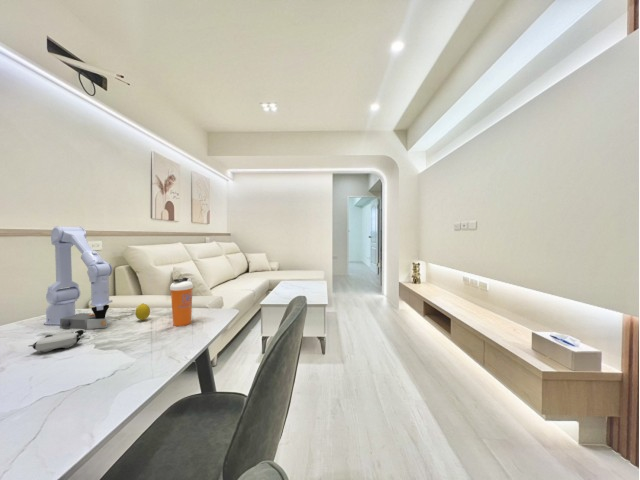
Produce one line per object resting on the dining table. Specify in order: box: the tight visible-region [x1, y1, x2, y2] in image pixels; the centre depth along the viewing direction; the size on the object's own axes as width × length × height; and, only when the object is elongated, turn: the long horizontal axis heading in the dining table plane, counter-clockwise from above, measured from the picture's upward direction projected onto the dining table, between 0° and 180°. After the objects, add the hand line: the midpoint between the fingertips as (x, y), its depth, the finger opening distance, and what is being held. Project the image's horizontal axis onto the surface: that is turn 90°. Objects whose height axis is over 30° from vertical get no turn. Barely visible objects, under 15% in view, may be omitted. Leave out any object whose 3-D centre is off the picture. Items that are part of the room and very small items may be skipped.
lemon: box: [135, 303, 151, 322], centre depth 115 cm, size 6×6×8 cm
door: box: [84, 317, 108, 330], centre depth 105 cm, size 2×8×4 cm, turn 100°
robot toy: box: [27, 329, 87, 353], centre depth 89 cm, size 12×4×15 cm
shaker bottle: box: [169, 277, 194, 327], centre depth 110 cm, size 9×9×20 cm
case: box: [59, 312, 96, 330], centre depth 109 cm, size 12×9×5 cm
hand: (100, 323), depth 107 cm, fingers closed, pressing on door
